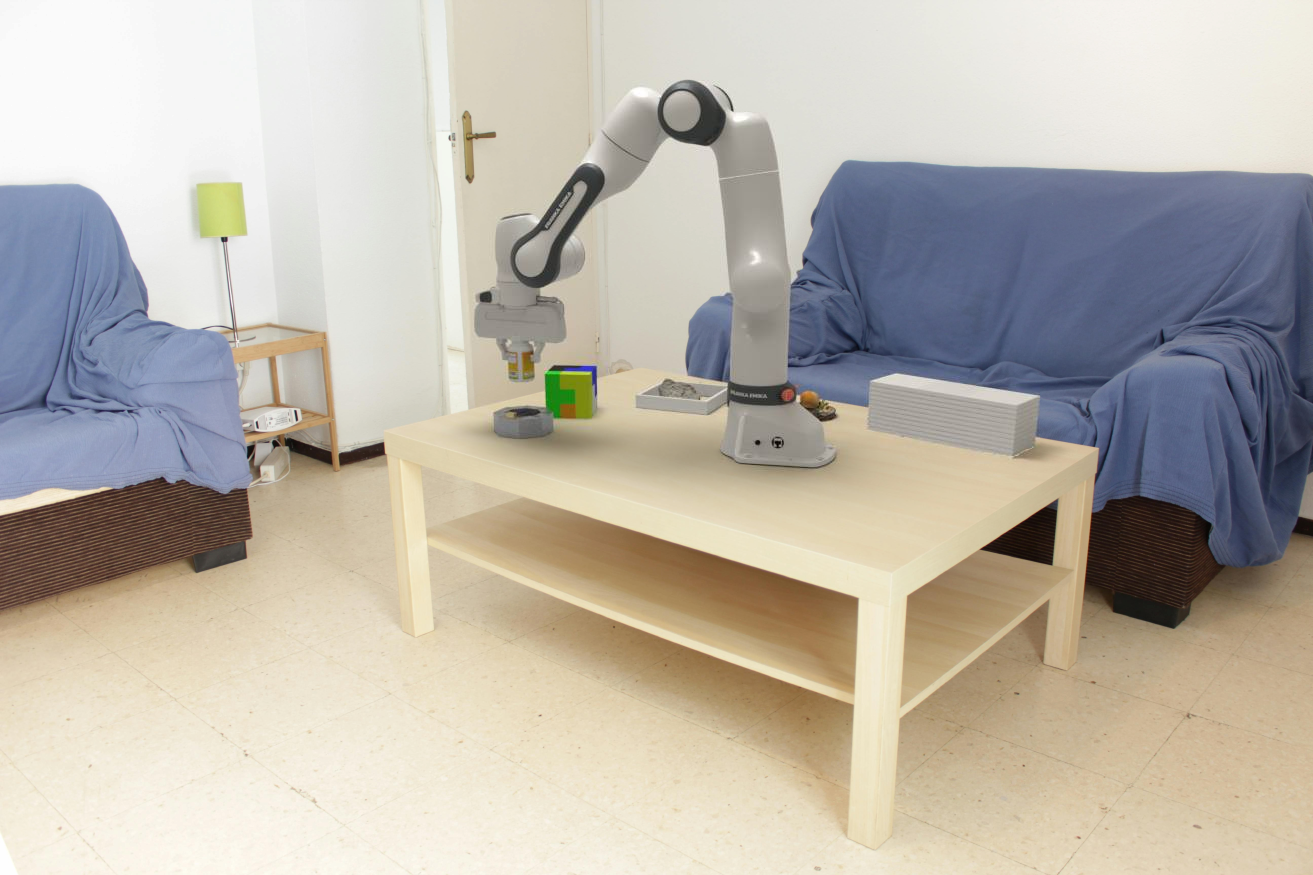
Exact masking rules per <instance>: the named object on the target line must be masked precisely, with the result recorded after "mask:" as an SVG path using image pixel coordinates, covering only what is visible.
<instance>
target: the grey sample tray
mask: <svg viewBox="0 0 1313 875" xmlns="http://www.w3.org/2000/svg"><path fill="white" fill-rule="evenodd" d="M663 381H664V380H662V381H660V382H658V383H656V384H654V385H653V386H651V387H648V388H647V389H644V390H642V391H641V392H639V393H637V394H635V408H638V409H646V410H647V409H648V410H657V411H668V412H676V413H687V414H695V415H705V416H707V415H709V414H711V413H712V412H713V411H715V410H717V409H719V408H720V407H721V406H724V405H725V404H727V386H728V385H725V384H715V383H714V384H712V383H703V382H693V381H683V380H680V381H679V380H674V381H675V382H676V381H677V382H684V383H686V384H691V385H692V386H694V387H695V390H696V392H699V393H700V397H706V398H707V397H708V399H705V400H701V399H700V400H692V399H682V398H672V397H661V396H660V395H659V391H658V390H657V389H658V388H660V385H661V384H662V383H663Z"/></svg>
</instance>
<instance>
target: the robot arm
mask: <svg viewBox="0 0 1313 875" xmlns="http://www.w3.org/2000/svg"><path fill="white" fill-rule="evenodd" d="M770 128H771V127H770V125H769V122H768V120H767V119H766V118H765V116H763V115H761V114H760V113H757V112H752V111H739V112H737V111H736V112H735V109H734V105H733V102H732V99H731V98H730V95H728V93H726V91H724V89H722V88H721V87H719V86H717V85H716V84H715V85H714V84H712V83H710V82H708V81H705V80H699V79H683V80H680V81H676V82H674V83H672V84H671V85H669V86H668V87H667V89H666V90H665V91H664V92H663V93H662V94H661V93H660V92H658V91H656V90H654V89H653V88H650V87H645V86H637V87H633V88H632V89H630V90H629V91H628V92H627V93H626V94H625V95H624V97H623V98H622V99H621V100H620V101H619V102H618V104H616V106H615V107H614V109H613V110H612V111H611V113H610V114H609V115H608V117H607V119H606V120H605V121H604V123H603V124H602V126H601V128H600V129H599V131H598V132H597V135H596V136H595V137H594V138H593V141H592V143H591V145H590V146H589V148H588V149H587V151H586V153H585V155H584V156H583V158H582V159H581V161H580V162H579V164H578V166H576V168H575V170H574V172H573V173H572V175H571V176H570V178H569V179H568V180H567V182H566V183H565V184H564V186H563V187H562V189H561V190H560V192H559V193H558V194H557V196H556V197H555V199H554V200H553V202H552V203H551V204H550V206H549V207H548V209H547V210H546V212H545V213H544V214H543V216H542V217H541V219H539V218H538V217H537V216H536V215H535V214H533V213H531V212H530V213H529V212H525V213H519V214H511V215H507V216H504V217H502V218H501V219H499V220H498V222H497V225H496V228H495V235H494V236H495V237H494V238H495V240H494V243H495V244H494V249H495V250H494V252H495V255H494V256H495V262H496V265H497V274H496V286H492V287H490V288H488V289H485V290H481V291H478V292H476V293H475V302H476V305H475V309H474V315H473V316H474V317H473V318H474V319H473V320H474V322H473V326H474V332H475V334H476V335H477V337H478V338H486V339H487V338H488V339H496V340H495V341H496V345H497V347H498V349H499V351H500V353H501V360H502V361H508V345H507V343H508V340H510V341H511V338H512V335H517V336H520V339H521V340H522V341H529V342H533V348H535V349H534V353H533V354H530V358H531V359H530V362H531V363H534V364H538V363H540V362H541V354H542V353H543V350H544V348H545V347H546V344H548V343H550V344H559V343H562V342H564V341H565V339H566V338H567V325H566V320H565V304H564V303H563V301H562V300H561V299H559V298H558V297H557V296H547V295H545V296H544V295H541V288H544V287H546V286H549V285H550V284H554V283H556V282H560V281H563V280H567V279H569V278H572V277H573V276H575V275H577V274H578V273H579V272H580V271H581V270H582V268H583V266H584V263H585V260H586V253H585V251H586V250H585V247H584V244H583V243H582V242H581V240H580V239H579V237H577V236H576V235H575V234H574V233H575V232H576V230H577V229H578V227H579V226H580V225H581V223H582V221H583V220H584V219H585V217H586V216H587V215H588V214H589V212H590V211H592V209H594V207H596V206H597V205H598V204H600V203H601V202H603V201H605V200H607V199H609V198H611V197H612V196H615V195H617V194H619V193H621V192H624V191H627V190H628V189H629V188H630V187H631V186H632V185H633V184H634V183H635V182H636V181H637V180H638V179H639V178H640V177H641V175H642V174H643V173H644V172H645V170H646V169H647V167H648V166H649V163H650V162H651V161H652V159H653V157H654V156H655V154H656V152H657V151H658V149H659V148H660V146H662V144H663V143H665V141H666V140H667V139H669V138H671V139H673V140H675V141H677V142H680V143H683V144H688V145H689V144H691V145H697V146H701V147H709V148H710V149H711V150H712V152H713V154H714V156H715V159H716V166H717V172H718V183H719V188H720V189H719V190H720V196H721V197H720V200H721V205H722V206H721V208H722V214H723V215H722V216H723V223H724V236H725V238H724V239H725V250H726V252H725V253H726V262H727V274H728V275H727V276H728V282H729V283H728V284H729V285H728V286H729V290H730V291H729V292H730V294H731V297H732V317H731V318H732V319H731V329H730V330H731V333H730V348H729V349H730V352H729V353H730V355H729V356H730V358H729V366H730V367H729V370H730V371H729V379H728V380H727V385H726V386H727V402H726V405H727V406H726V407H727V408H728V409H727V417H726V418H727V419H726V424H725V428H724V429H725V430H724V434H723V439H722V441H721V445H720V449H719V450H720V452H721V453H722V454H724V455H726V456H728V457H730V458H732V459H733V460H734V461H735V462H737V463H740V464H752V465H753V464H754V465H769V466H785V467H803V468H806V467H807V468H818V467H823V466H825V465H827V464H829V463H830V462H832V461H833V460H834V459H835V457H836V454H837V449H836V447H835V446H834V445H833V444H831V443H826V437H825V430H824V426H823V424H822V422H820V420H819V419H817V418H816V417H815V416H814V415H812V414H811V413H810V412H809V411H807V410H806V409H805V408H804V407H803V406H802V405H800V404H799V402H798V401H797V398H798V396H797V394H798V392H797V391H799V389H798V388H799V384H795V385H794V384H792V383H791V382H790V381H789V380H788V364H789V361H788V360H789V359H788V358H789V357H788V356H789V336H790V335H789V334H790V332H789V331H790V310H791V308H790V306H791V288H792V287H791V286H792V283H791V282H792V272H791V271H792V270H791V267H790V264H789V259H788V250H787V249H788V248H787V240H786V228H785V216H784V208H783V206H784V204H783V196H782V189H781V188H782V187H781V178H780V171H779V164H778V156H777V151H776V146H775V142H774V138H773V134H772V131H771V129H770ZM477 303H478V304H477Z"/></svg>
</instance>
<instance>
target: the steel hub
mask: <svg viewBox="0 0 1313 875" xmlns="http://www.w3.org/2000/svg"><path fill="white" fill-rule="evenodd" d="M492 414H493V416H492V417H493V430H494V431H493V432H495V433H496V434H497V436H498V437H501V438H502V437H503V438H510V439H518V440H521V439H532V438H541V437H542V438H543V437H544V436H546V435H548V434H550V433H552V432H554V431H555V430H554V428H555V427H554V426H555V425H554V418H553V412H552V411H551V410H549V409H548V408H547V407H546V406H537V405H528V404H527V405H519V406H518V405H516V406H506V407H503V408H500V409H497V410H496V411H493V413H492Z"/></svg>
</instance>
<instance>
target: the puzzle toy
mask: <svg viewBox="0 0 1313 875" xmlns="http://www.w3.org/2000/svg"><path fill="white" fill-rule="evenodd" d="M597 368H598V366H597V365H573V364H572V365H571V364H570V365H569V364H568V365H564V364H561V365H560V364H557V365H556V364H554V365H552V366H551V367H550V368H549V369H548V370H547V371H546V372H545V373H544V391H545V392H544V393H545V394H544V396H545V407H547V408H548V409H549V410H551V411H552V412H553V419H576V420H577V419H579V420H580V419H583V420H587V419H588V420H591V419H592V418H593V416H594V414H595V413H596V412H597V410H598V370H597Z"/></svg>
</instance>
